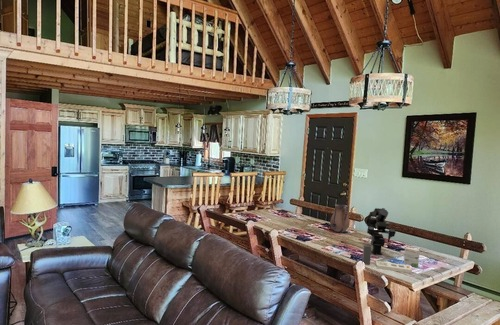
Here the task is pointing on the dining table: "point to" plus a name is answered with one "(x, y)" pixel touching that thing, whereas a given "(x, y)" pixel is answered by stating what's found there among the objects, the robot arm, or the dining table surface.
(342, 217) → the ceramic pitcher
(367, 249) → the charger plug
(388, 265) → the power strip
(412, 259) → the ink box
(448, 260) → the dining table surface
